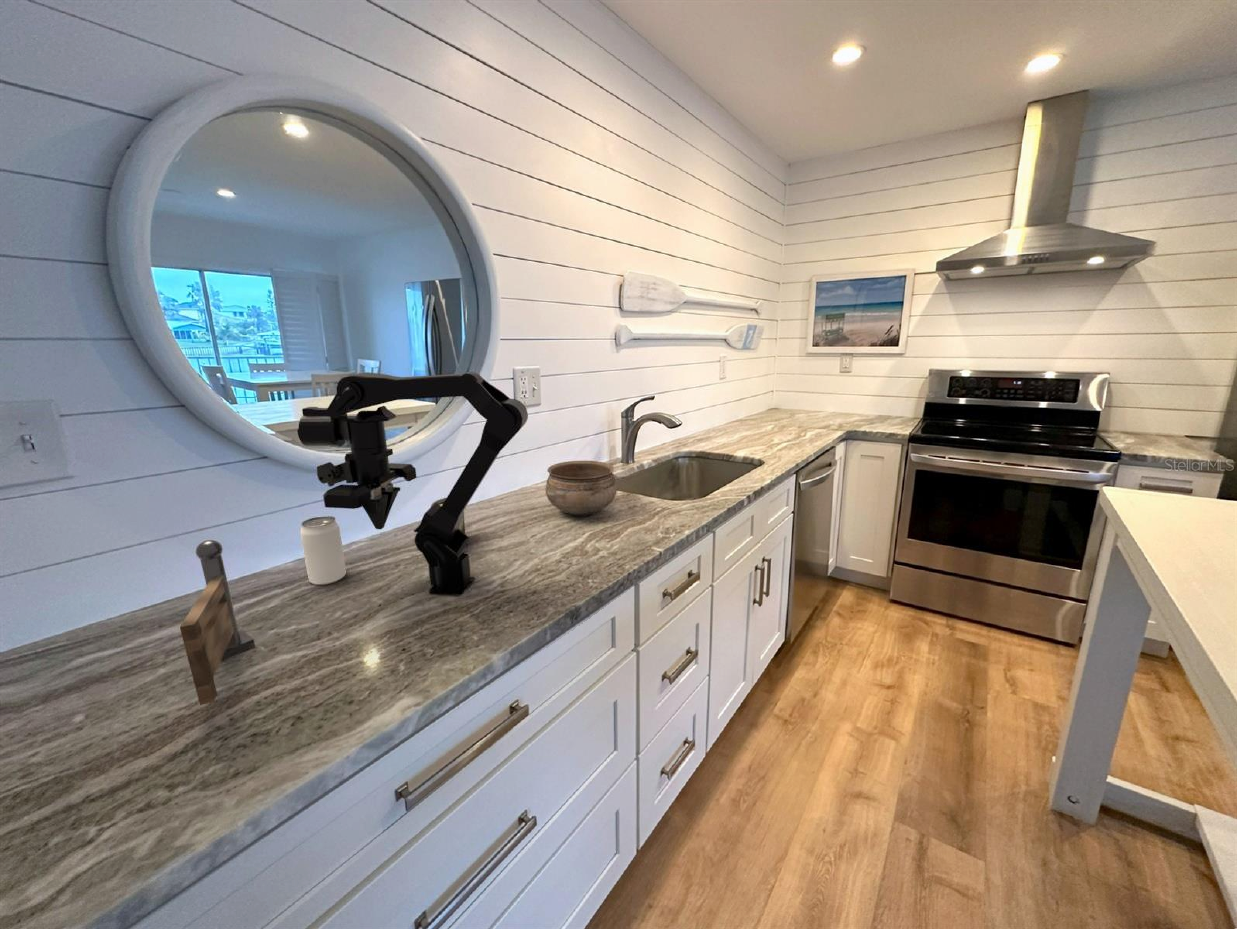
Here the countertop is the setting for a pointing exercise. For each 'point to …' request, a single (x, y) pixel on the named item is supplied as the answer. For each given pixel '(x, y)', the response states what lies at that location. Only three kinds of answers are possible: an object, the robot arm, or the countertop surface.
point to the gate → (209, 636)
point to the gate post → (213, 567)
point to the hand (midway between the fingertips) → (379, 528)
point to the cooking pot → (581, 486)
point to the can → (323, 550)
